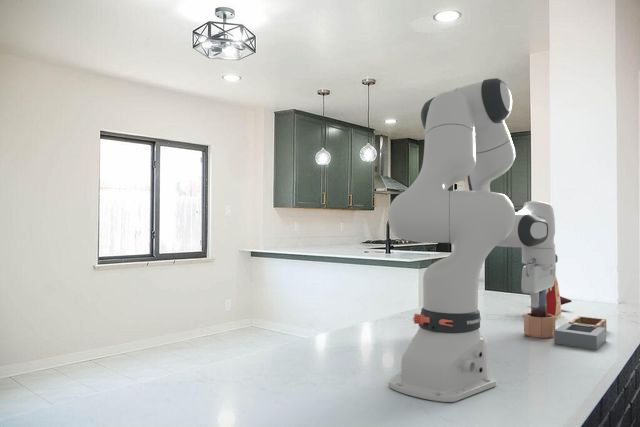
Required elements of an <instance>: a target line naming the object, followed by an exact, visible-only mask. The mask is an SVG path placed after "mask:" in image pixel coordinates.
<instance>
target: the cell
mask: <svg viewBox="0 0 640 427" xmlns="http://www.w3.org/2000/svg"><path fill="white" fill-rule="evenodd" d="M539 301H540V306H539V307H538V308H535V307H532V300H531V299H530V313H531V316H532V317H541V318H542V317H546V289H545V290H543V291H540V292H539Z"/></svg>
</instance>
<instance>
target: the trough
mask: <svg viewBox="0 0 640 427" xmlns="http://www.w3.org/2000/svg"><path fill="white" fill-rule="evenodd" d="M568 323H569V324H573V323H577V324H585V325H594V326H597V327H602V328H606V329H607V319H606V318H597V317H590V316H589V317H588V316H578V315H577V317H575V318H572V319H571V320H570V321H569V322H568Z"/></svg>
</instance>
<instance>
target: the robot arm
mask: <svg viewBox="0 0 640 427" xmlns="http://www.w3.org/2000/svg"><path fill="white" fill-rule="evenodd" d="M512 111H513V97H512V93H511V90H510V89H509V87H508V85H507V84H506V82H504V81H503V80H502V79H500V78H496V77H495V78H487V79H484V80H483V81H479V82H475V83H471V84H468V85H464V86H461V87H456V88H454V89H452V90H449V91H445V92H442V93H439V94H437V95H436V96H434V97H432V98H430V99H429V100H427V101H426V102H425V103H424V104H423V106H422V108H421V112H420V119H421V120H420V121H421V124H422V126H423V129H424V148H423V160H422V165H421V169H420V171H419V172H418V175H417V177H416V178H415V180H414V181H413V183H412V184H411V185H410V186H409V187H407V189H405V191H403V192H401V193H400V194H398V195H396V196H395V198H394V199H393V200H392V201H391V203H390V206H389V208H388V211H387V212H388V213H387V219H388V220H387V221H388V226H389V228H390V231H391V232H392V233H393V235H394V236H395V237H396V238H397V239H401V240H403V241H404V240H405V241H407V242H415V243H429V244H431V243H434V244H435V243H438V244H440V243H443V244H445V243H446V244H448V243H449V244H452V245H453V247H454V248H453V251H452V253H451V254H449V255H447V256H445V257H443V258H441V259H439V260H436V261H435V262H433V263H431V264H430V265H428V266H427V268H426V269H425V271H424V273H423V277H422V282H423V283H422V286H423V288H422V289H423V290H422V292H423V293H422V294H423V295H422V297H423V300H422V301H423V302H422V303H423V305H422V306H423V307H421V310H420V313H414V314H413V317H412V321H413V323H414V324H415V325H416V324H417V325H418V326H419V327H418V329H417V331H416V333H415V335H414V336H413V338H412V339H411V340H410V343H409V345H408V346H407V347H406V349H405V350H404V352H403V355H402V358H401V363H400V364H401V366H400V371H399V372H398V373H397V374H396V375H395V376H394V377H393V378H391V379H390V380H389V381H388V387H389V388H391V389H392V390H394V391H396V392H398V393H401V394H405V395H407V396H411V397H415V398H420V399H424V400H429V401H433V402H434V401H435V402H442V403H443V402H444V403H445V402H446V403H455V402H457V401H460V400H462V399H466V398H468V397H470V396H473V395H475V394H478V393H481V392H484V391H487V390H489V389H491V388H494V387H496V386H497V384H496V383H497V381H496V380H495V378H493V377H491V376H490V372H489V371H490V369H489V358H488V357H489V356H488V344H487V341H486V340H485V339H484V337H483V336H482V334H481V332H480V328H481V321H482V320H481V317H482V316H481V312H480V310H479V309H478V306H479V305H478V304H479V302H478V301H479V298H478V296H479V295H478V294H479V281H480V274H481V270H482V267H483V265H484V262H485V261H486V258H487V257H488V256H489V254H490V253H491V252H492V250H493V249H494V248H500V247H502V248H504V247H505V248H521V264H523V265H524V264H525V265H524V266H523V267H522V270H521V285H520V286H521V288H520V289H521V292H522V294H529V297H530V301H531V300H532V307H535V308H538V307H539V306H540V301H539V292H540V291H543V290H545V289H546V294H547V289H548V288H550V287H553V286H554V283H555V275H556V274H557V273H556V270H557V267H556V266H557V265H556V264H557V263H558V260H559V257H558V255H557V253H556V244H555V234H556V221H555V220H556V218H555V212H554V208H553V206H552V204H551V203H549V202H546V201H540V200H529V201H526V202H524V204H523V207H522V209H520V210H518V211H516V210H515V207H514V204H513V203H512V201H511V199H510V198H509V197H508V196H507V195H505V194H504V193H499V192H494V191H491V186H490V185H491V182H492V181H494V180H497V179H498V178H499V177H501V176H502V175H504V174H505V173H506V172H507V171H509V169H510V168H511V167H512V166H513V164H514V161H515V158H516V149H515V146H514V143H513V140H512V137H511V133H510V131H509V129H508V127H507V124H506V123H505V120H506V119H508V117H509V116H510V114H511V112H512ZM466 178H467V185H468V190H449V189H450V188H451V187H452V186H453V185H455V184H457V183H459V182H462V181H463V180H465V179H466Z"/></svg>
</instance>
